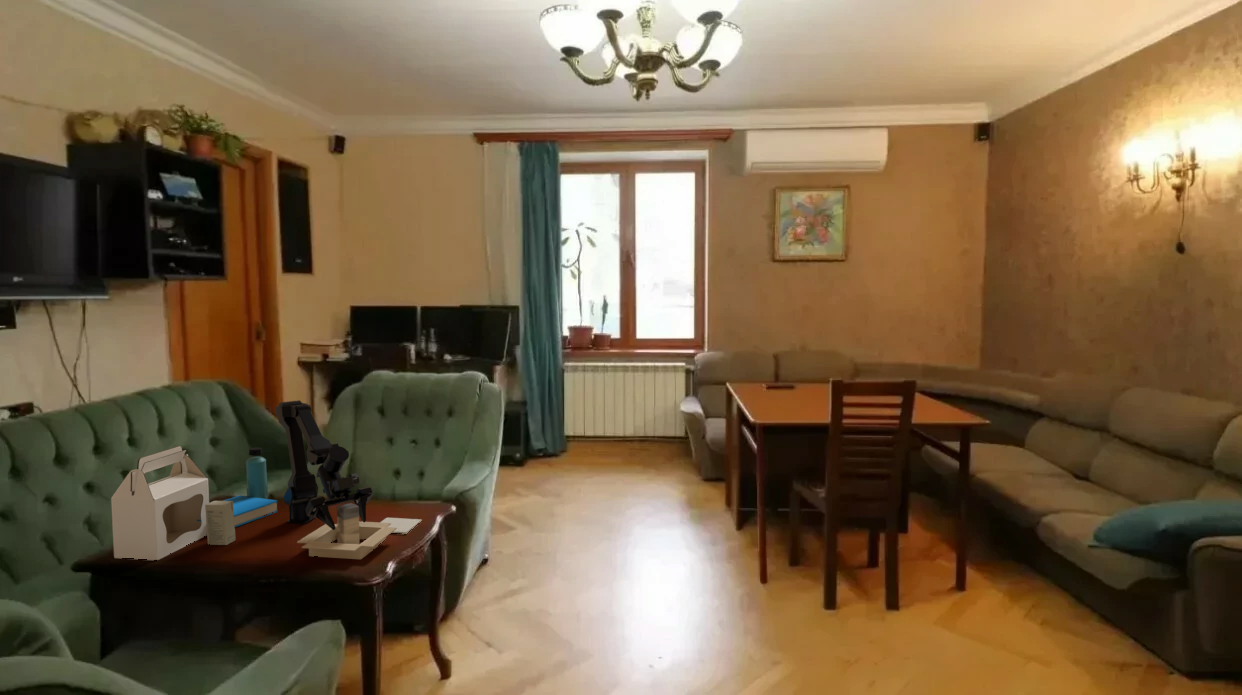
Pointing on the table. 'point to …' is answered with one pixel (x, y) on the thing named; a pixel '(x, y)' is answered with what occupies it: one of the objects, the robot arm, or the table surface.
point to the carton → (325, 535)
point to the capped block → (348, 524)
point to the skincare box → (220, 522)
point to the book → (250, 509)
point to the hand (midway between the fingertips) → (349, 525)
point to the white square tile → (401, 524)
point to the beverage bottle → (256, 475)
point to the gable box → (159, 507)
